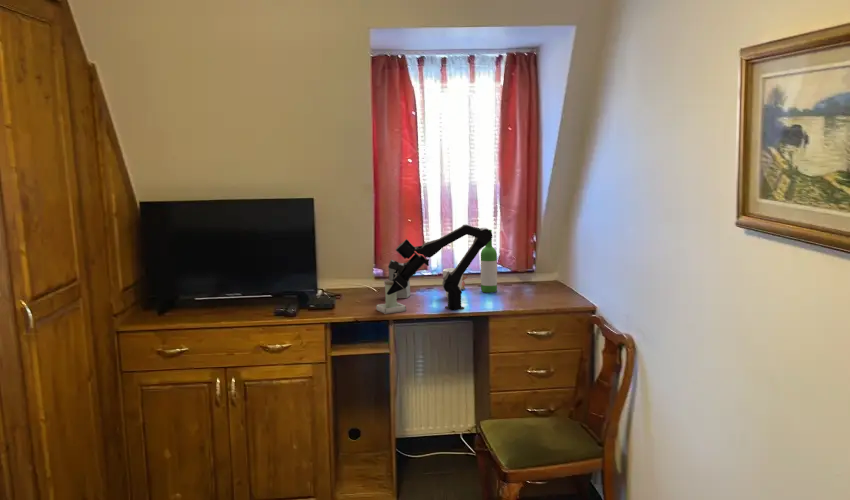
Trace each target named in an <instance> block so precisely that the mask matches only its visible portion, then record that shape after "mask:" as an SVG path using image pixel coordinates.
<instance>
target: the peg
mask: <svg viewBox="0 0 850 500" xmlns="http://www.w3.org/2000/svg"><path fill="white" fill-rule="evenodd" d="M392 285H393V281H389V280H386V281H384V293H385V295H384V296H385V304H386V308H393V307H397V302H398V300H397V299H398V298H397V294H396V292H395V293H392V294H390V295H388V294H387V292H388V291H389V289H390V288H391V286H392Z"/></svg>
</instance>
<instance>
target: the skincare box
mask: <svg viewBox="0 0 850 500" xmlns="http://www.w3.org/2000/svg"><path fill="white" fill-rule="evenodd" d="M394 271H395V270H394V269H390V268H388V279H389V280H388V281H392V280H393V273H394ZM394 274H396V273H394ZM396 294H397V299H408V298H409V297H410V296H411V284H410V280H409V281H408V286H407V287H406V288H405V289H402V290H400V291H397V292H396Z"/></svg>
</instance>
